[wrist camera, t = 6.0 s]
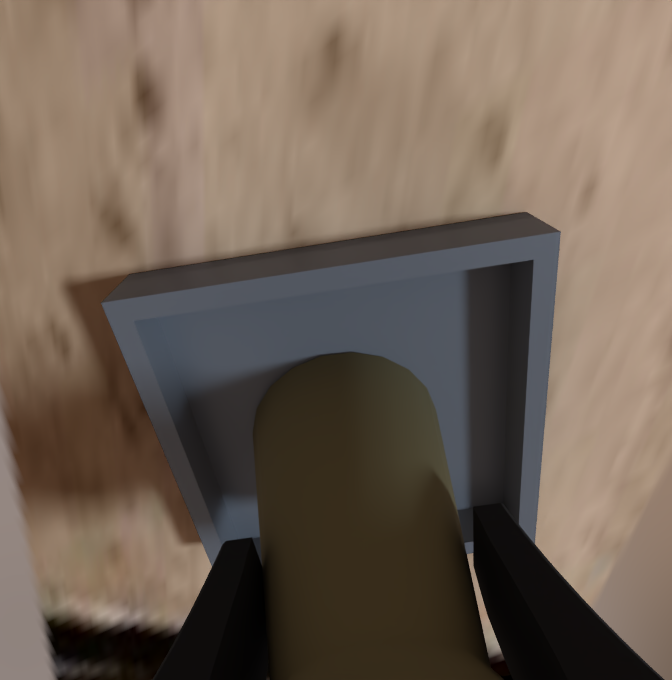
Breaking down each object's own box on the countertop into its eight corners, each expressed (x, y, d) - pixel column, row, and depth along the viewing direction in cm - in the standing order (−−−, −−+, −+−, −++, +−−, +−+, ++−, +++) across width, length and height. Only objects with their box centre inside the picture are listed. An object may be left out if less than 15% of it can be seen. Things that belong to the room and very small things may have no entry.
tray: (513, 500, 18) (534, 544, 16) (229, 539, 18) (220, 587, 17) (526, 212, 13) (560, 231, 11) (128, 274, 13) (101, 303, 11)
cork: (249, 350, 14) (133, 980, 4) (451, 353, 14) (780, 916, 5) (254, 500, 16) (192, 1085, 7) (422, 498, 17) (588, 1035, 7)
